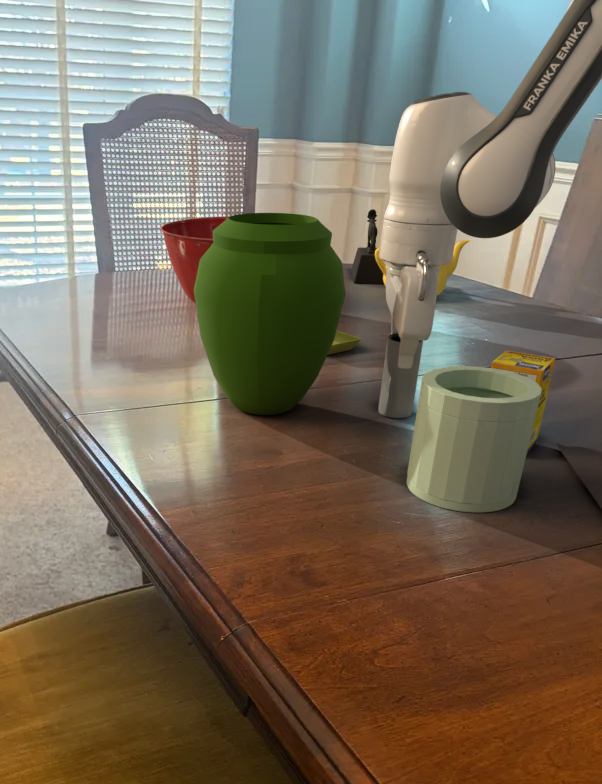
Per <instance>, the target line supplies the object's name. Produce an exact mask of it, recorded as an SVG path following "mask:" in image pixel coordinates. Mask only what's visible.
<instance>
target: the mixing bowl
mask: <svg viewBox="0 0 602 784" xmlns="http://www.w3.org/2000/svg"><path fill="white" fill-rule="evenodd" d="M229 217H230V216H210V217H209V216H208V217H195V218H187V219H179V220H175V221H171V222H168V223H164V224H163V225H161V226H160V231H161V232H162V233H163V239H164V244H165V246H166V247H165V248H166V251H167V255H168V257H169V260H170V263H171V266H172V269H173V272H174V274H175V276H176V278H177V281H178V283H179V285H180V287H181V288H182V290H183V292H184V294H185V295H186V296H187V298H188V299H189V300H190V301H191V302H193V303H194V304H196V302H195V295H194V286H195V281H196V277H197V272H198V267H199V262H200V259H201V258H202V256H203V255H204V254H205V253H206V251H207V250H208V249H209V248H210V247H211V245H212V244H213V230H214V229H215V228H217V227H218V226H219V225H220V224H222V223H223V222H224V221H225V220H226V219H228V218H229Z"/></svg>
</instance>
